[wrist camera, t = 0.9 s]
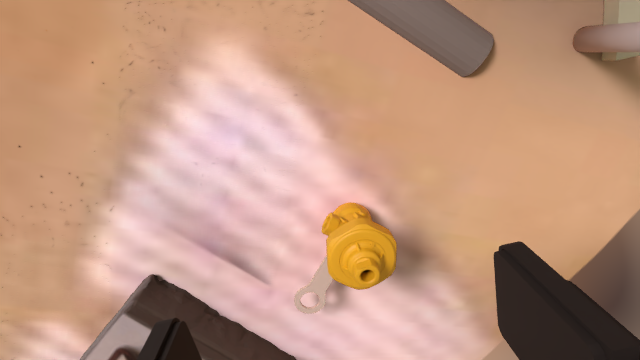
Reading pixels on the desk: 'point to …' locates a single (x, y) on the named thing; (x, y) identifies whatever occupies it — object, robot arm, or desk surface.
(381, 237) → the pressure relief valve
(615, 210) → the desk surface
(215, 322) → the bible
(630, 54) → the peg rack
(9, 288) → the desk surface
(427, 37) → the half round rod
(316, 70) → the desk surface
